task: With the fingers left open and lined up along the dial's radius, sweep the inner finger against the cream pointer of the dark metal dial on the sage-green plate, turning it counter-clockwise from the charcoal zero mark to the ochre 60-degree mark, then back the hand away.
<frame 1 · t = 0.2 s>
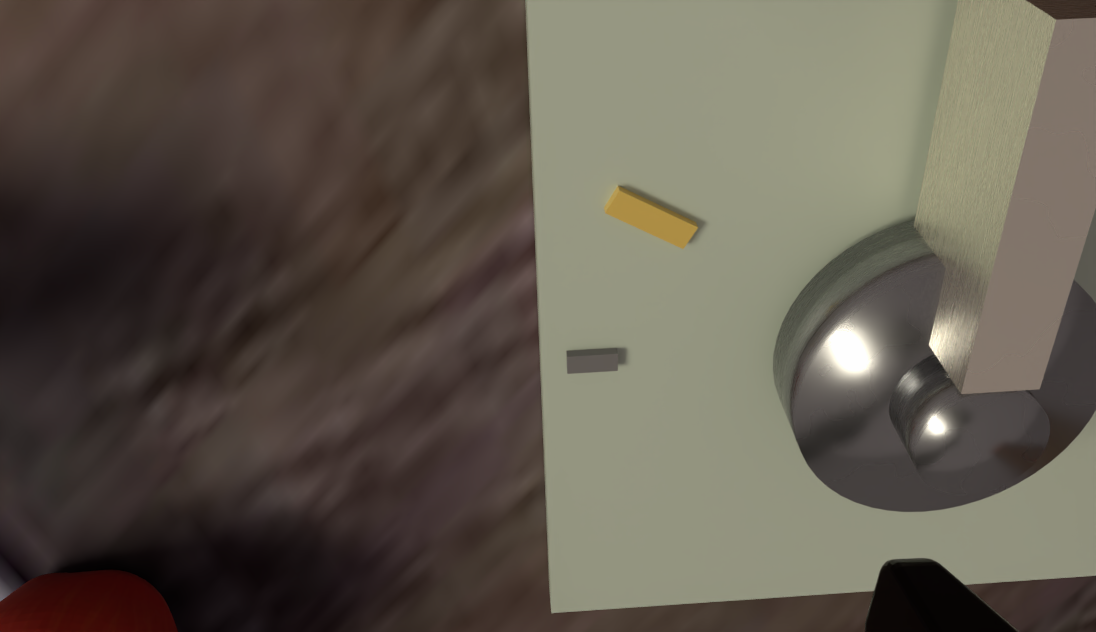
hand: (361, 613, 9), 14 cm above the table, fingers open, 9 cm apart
apple: (96, 586, 29), on the table
dial: (974, 289, 21), point 3 cm above the table, hinge at 0.0°
dial plate: (899, 315, 25), on the table
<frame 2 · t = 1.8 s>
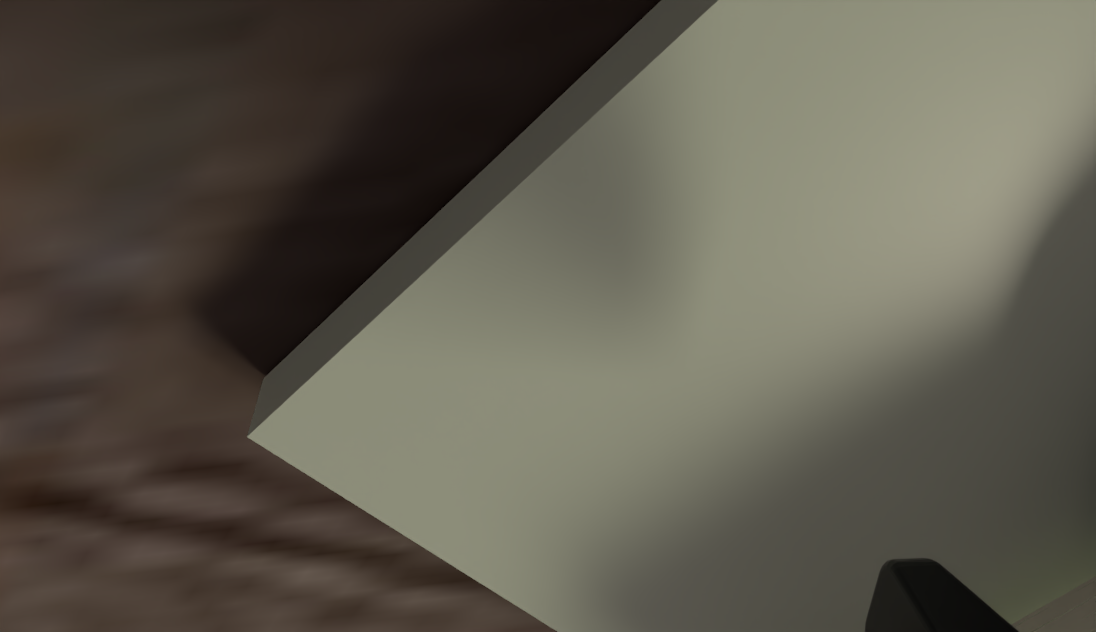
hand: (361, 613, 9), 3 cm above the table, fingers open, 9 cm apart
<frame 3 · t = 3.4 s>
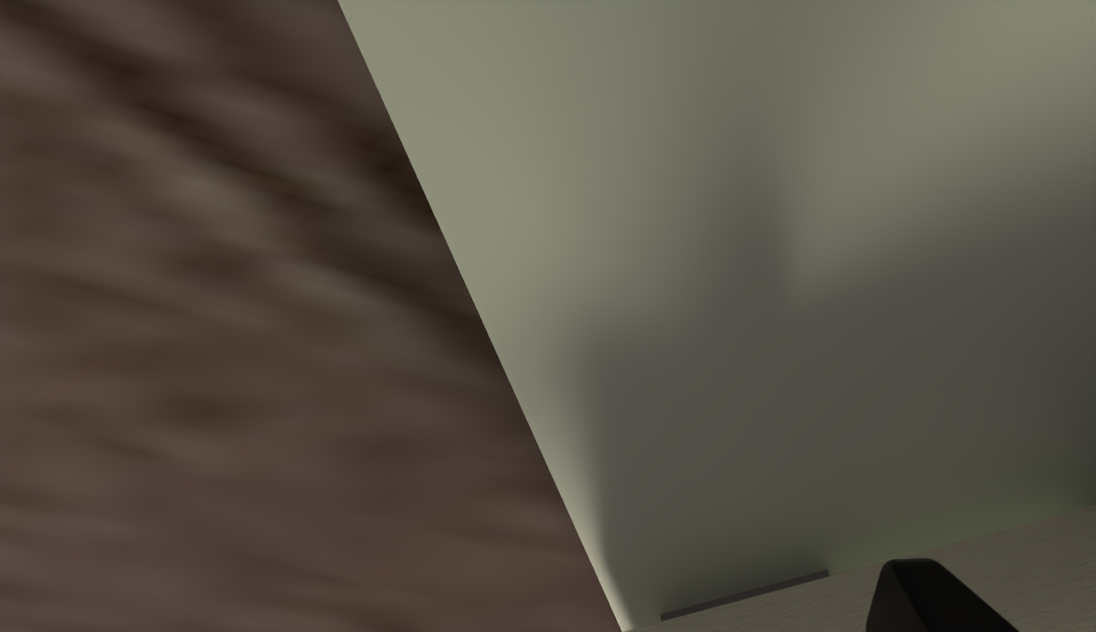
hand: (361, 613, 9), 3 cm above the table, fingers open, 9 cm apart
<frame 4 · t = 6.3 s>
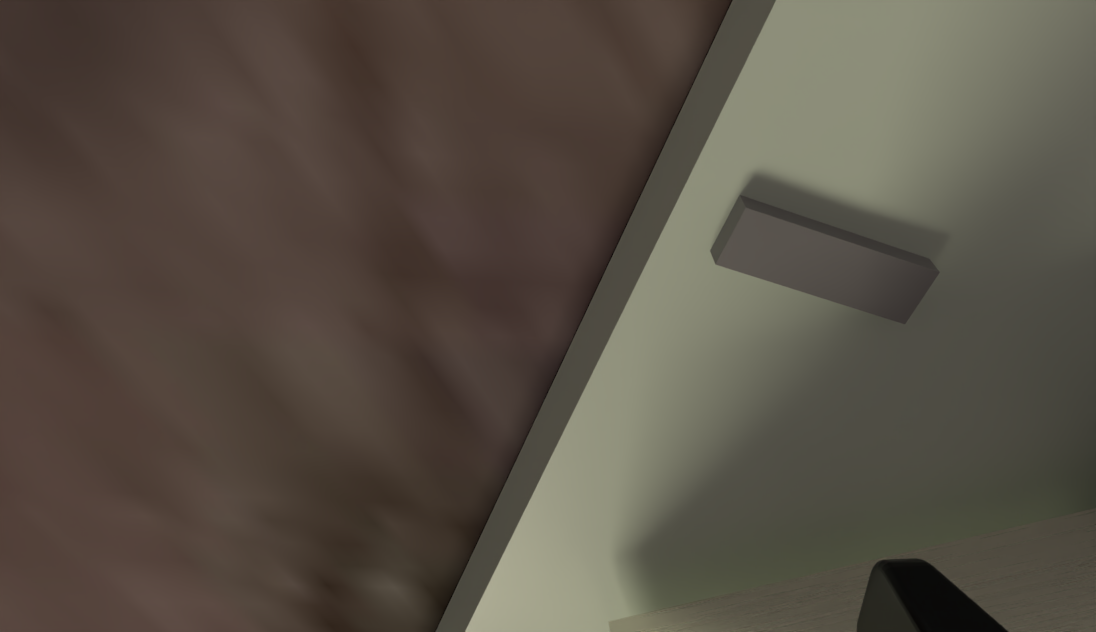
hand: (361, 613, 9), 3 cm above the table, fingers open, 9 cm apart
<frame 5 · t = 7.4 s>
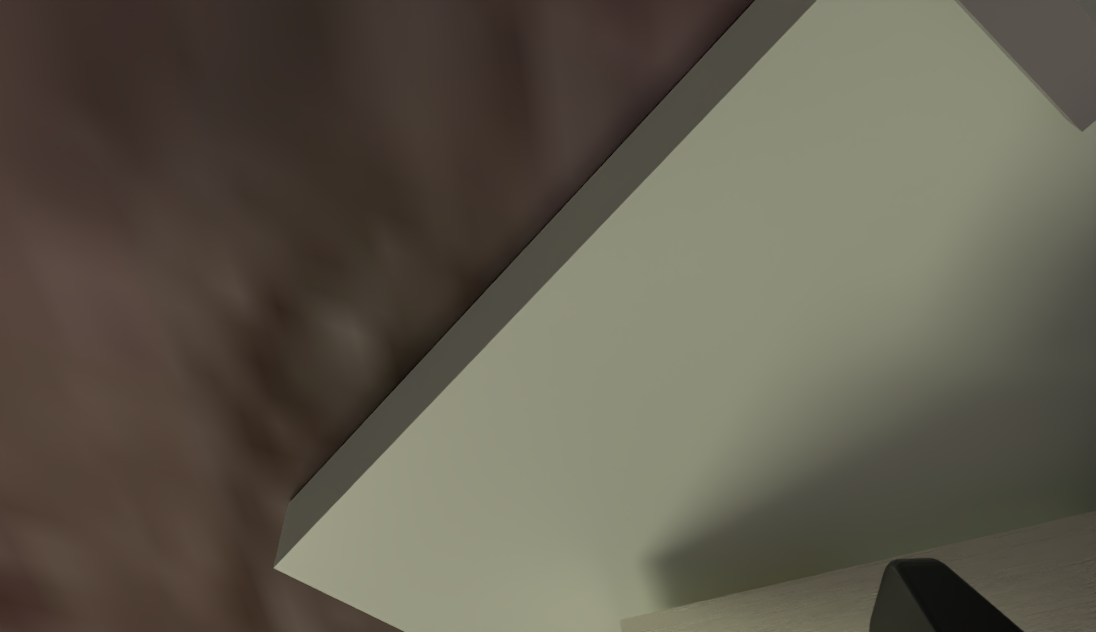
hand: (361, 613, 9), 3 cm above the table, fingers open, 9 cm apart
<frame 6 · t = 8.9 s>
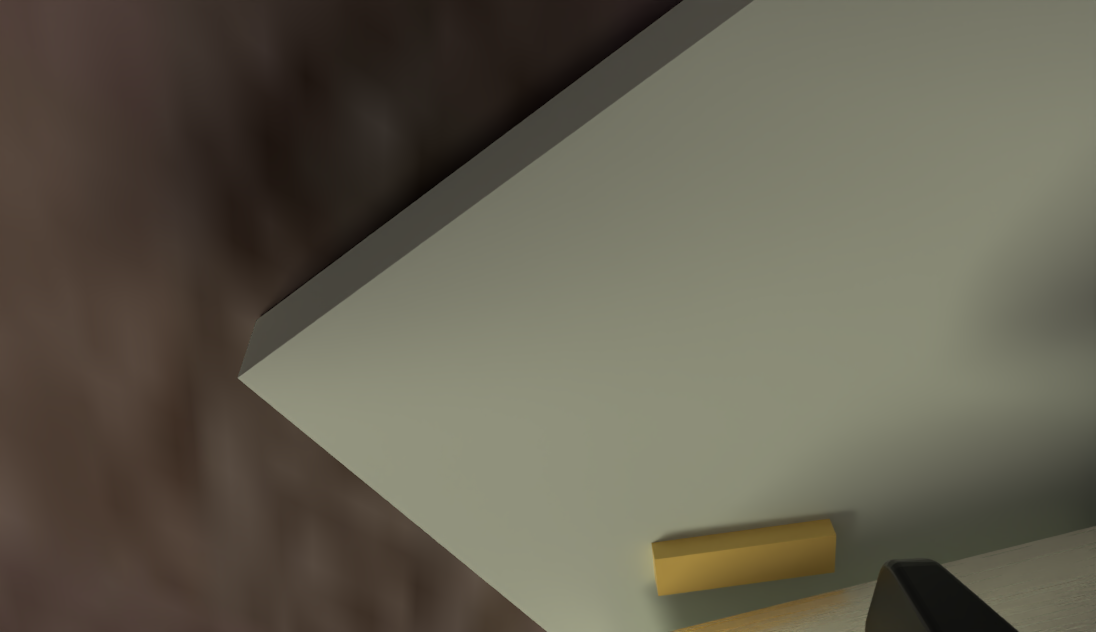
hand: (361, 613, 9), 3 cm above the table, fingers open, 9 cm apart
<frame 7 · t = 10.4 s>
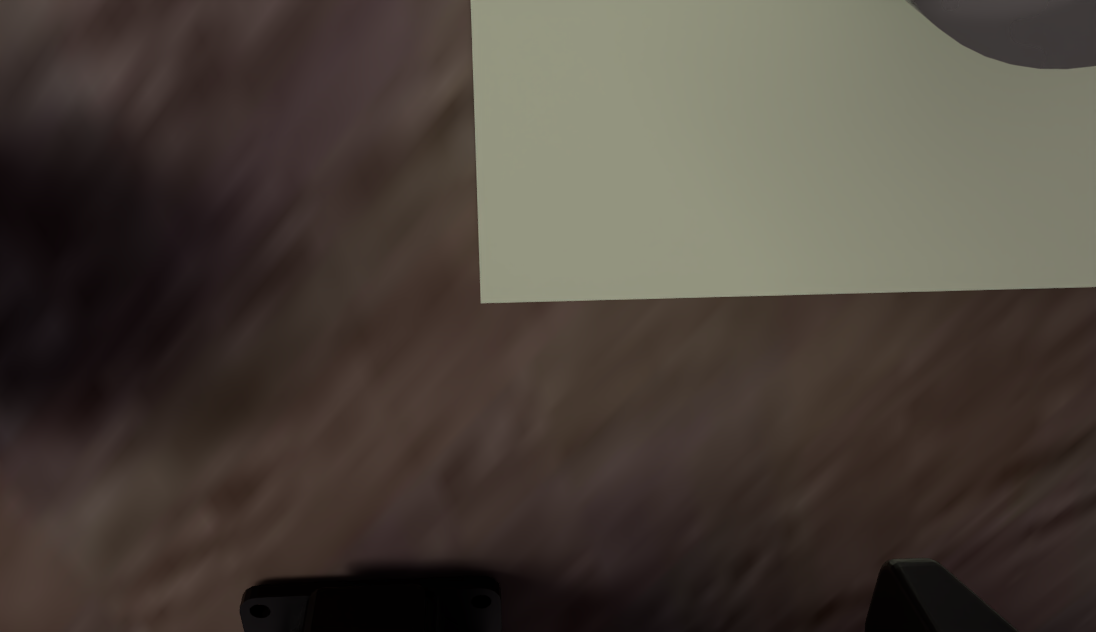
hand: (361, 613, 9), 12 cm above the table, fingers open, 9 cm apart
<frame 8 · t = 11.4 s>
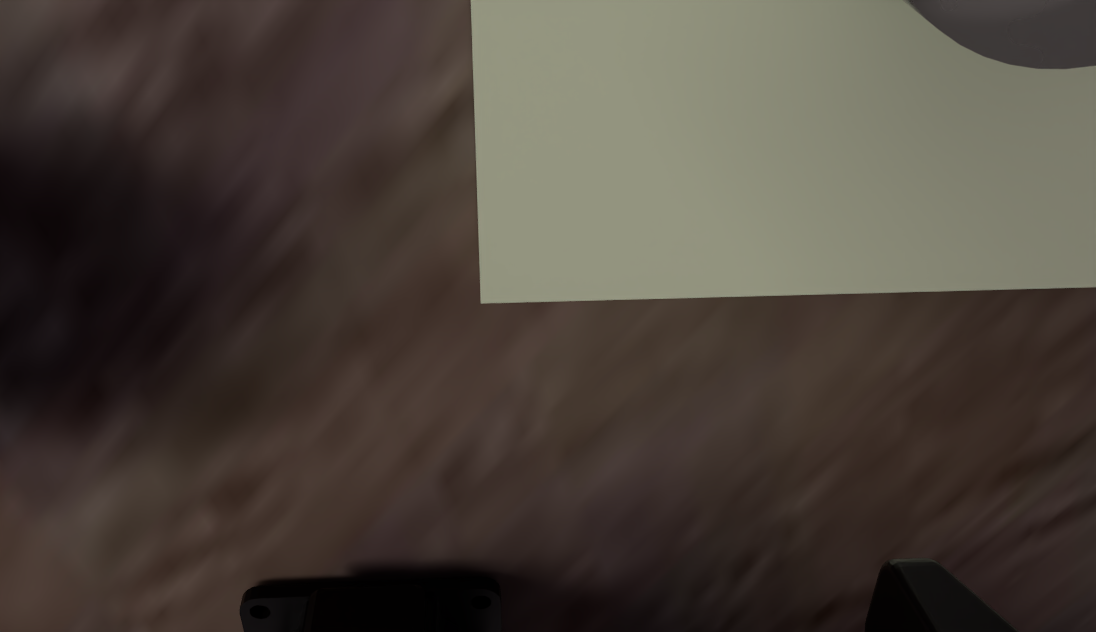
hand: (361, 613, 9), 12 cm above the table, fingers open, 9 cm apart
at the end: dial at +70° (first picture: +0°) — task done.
